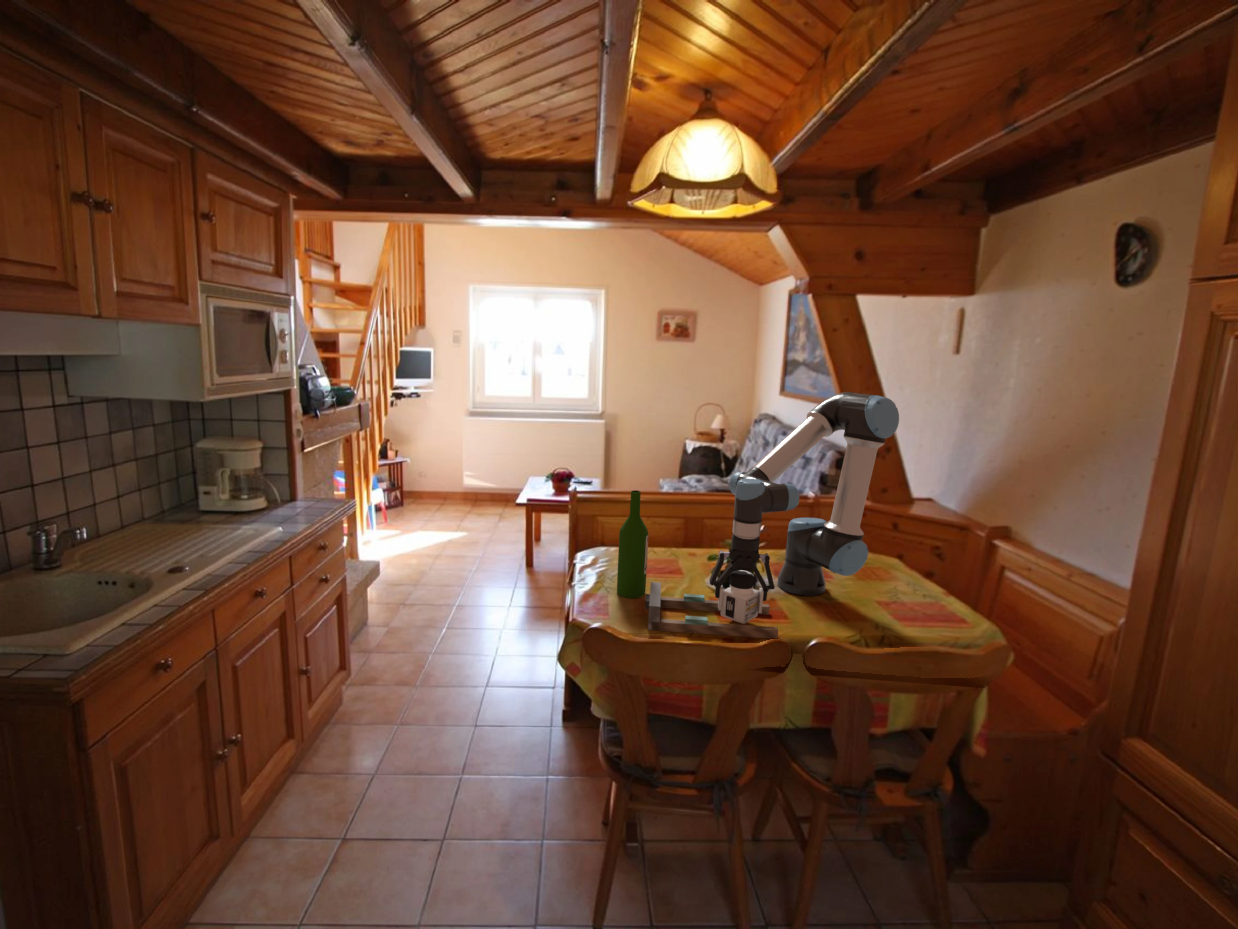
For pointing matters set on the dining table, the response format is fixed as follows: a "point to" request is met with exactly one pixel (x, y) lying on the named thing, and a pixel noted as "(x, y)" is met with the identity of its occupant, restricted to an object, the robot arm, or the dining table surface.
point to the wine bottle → (632, 552)
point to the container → (740, 598)
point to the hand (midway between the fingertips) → (739, 609)
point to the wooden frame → (698, 623)
